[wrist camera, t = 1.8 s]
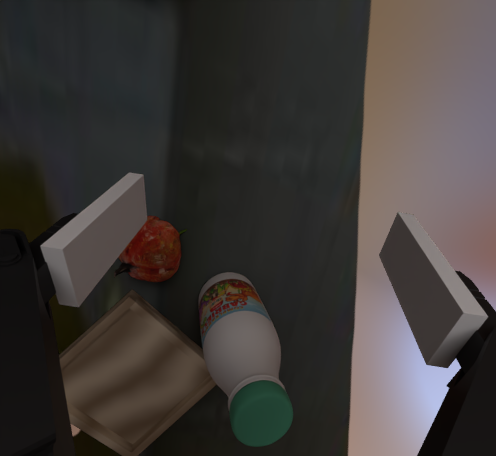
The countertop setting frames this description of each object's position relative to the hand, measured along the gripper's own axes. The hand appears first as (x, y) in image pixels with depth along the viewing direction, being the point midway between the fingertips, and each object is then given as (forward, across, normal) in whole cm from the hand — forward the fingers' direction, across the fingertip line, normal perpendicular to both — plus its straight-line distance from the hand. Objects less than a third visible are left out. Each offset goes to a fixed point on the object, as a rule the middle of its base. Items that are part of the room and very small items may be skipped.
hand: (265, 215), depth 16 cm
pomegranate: (+15, -12, -14) cm, 25 cm away
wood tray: (+8, -14, -32) cm, 35 cm away
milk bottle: (+15, -3, -22) cm, 27 cm away
